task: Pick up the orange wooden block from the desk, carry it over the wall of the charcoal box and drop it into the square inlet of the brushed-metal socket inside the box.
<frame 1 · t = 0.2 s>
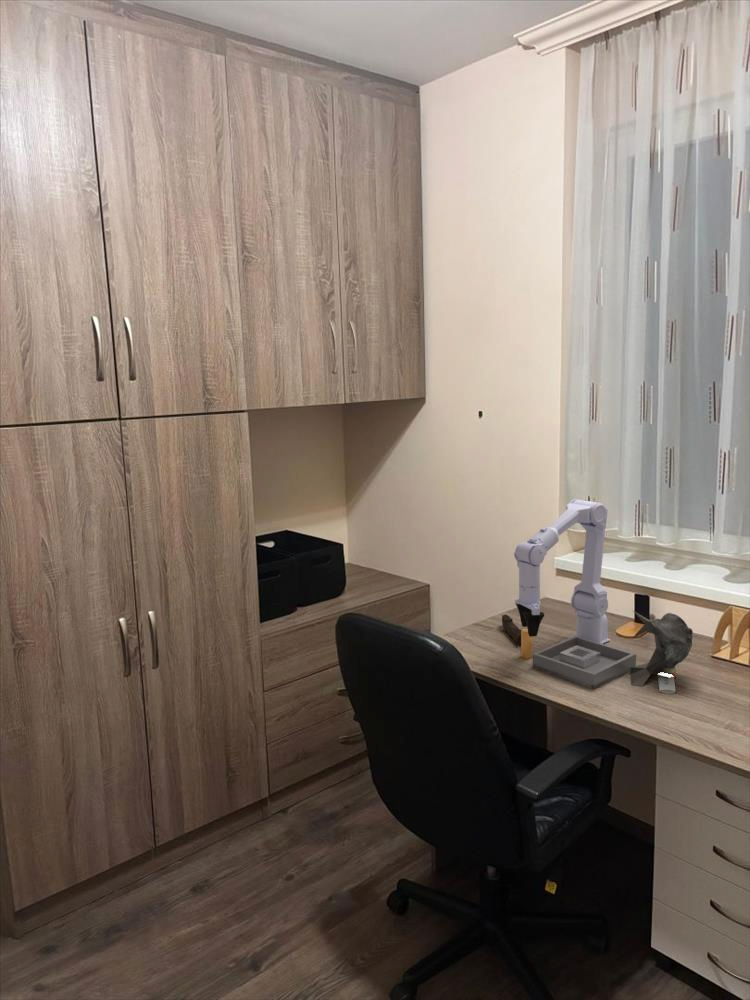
hand: (529, 631, 213), 10 cm above the table, tool pointing down, fingers open, 7 cm apart
orange wooden block: (526, 656, 219), on the table
inlet socket: (579, 664, 213), resting on walled box
walled box: (583, 667, 211), on the table
dark brown rod: (511, 637, 236), on the table
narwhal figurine: (660, 677, 203), on the table
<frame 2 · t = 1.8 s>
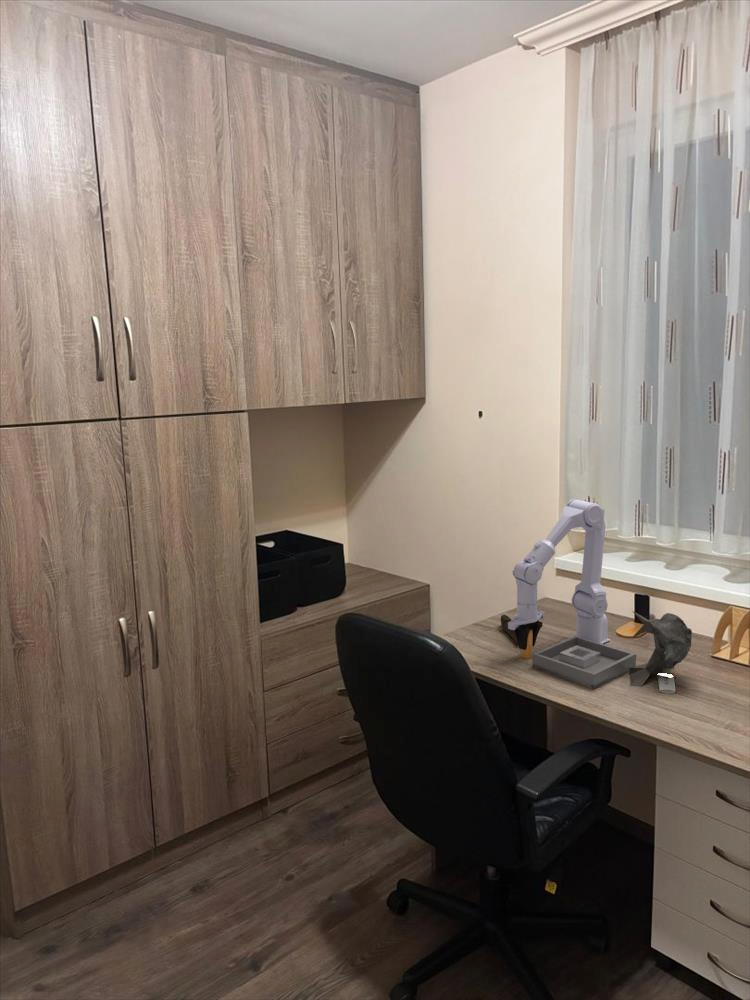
hand: (526, 647, 219), 3 cm above the table, tool pointing down, fingers closed on orange wooden block, 3 cm apart
orange wooden block: (526, 656, 219), on the table, touching gripper
everything else where it was.
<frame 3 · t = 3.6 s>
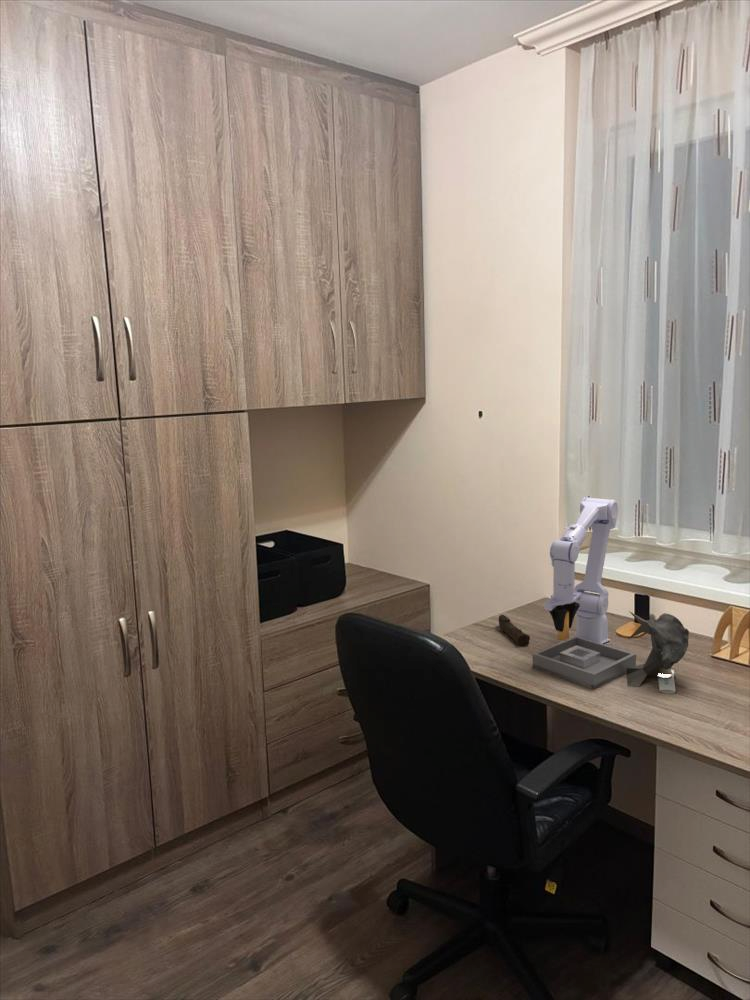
hand: (563, 628, 213), 10 cm above the table, tool pointing down, fingers closed on orange wooden block, 3 cm apart
orange wooden block: (562, 638, 214), point 7 cm above the table, touching gripper
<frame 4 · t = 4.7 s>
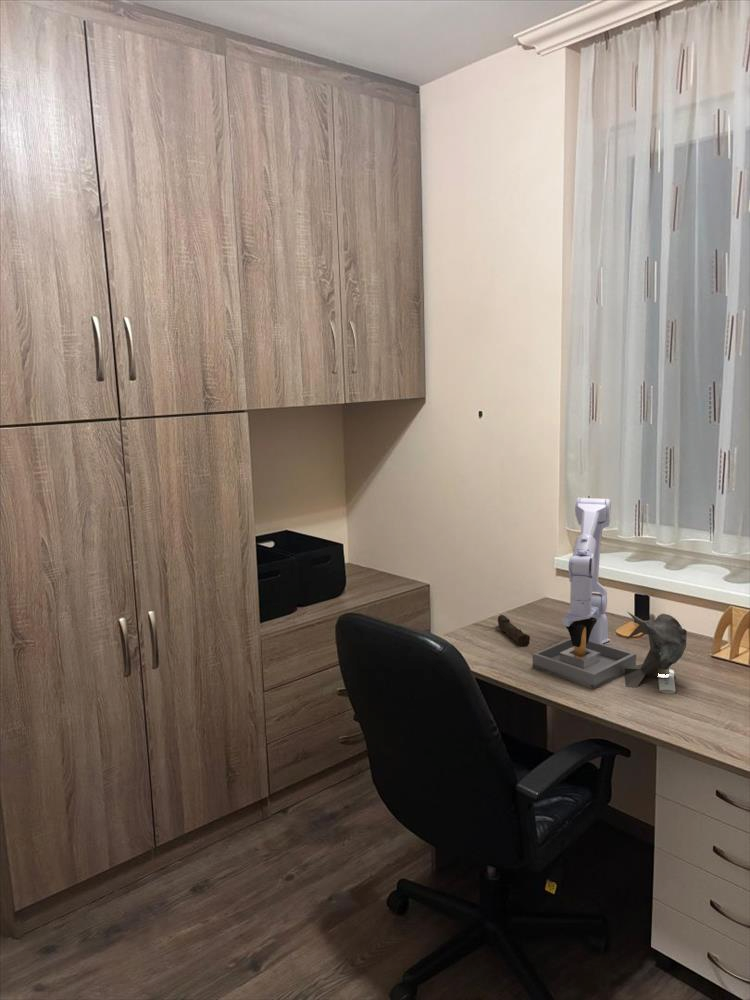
hand: (580, 644, 212), 6 cm above the table, tool pointing down, fingers closed on orange wooden block, 3 cm apart
orange wooden block: (579, 654, 212), point 3 cm above the table, touching gripper
when the fingers open (4 cm above the table, at t = 5.4 s): orange wooden block stays where it is, resting on walled box.
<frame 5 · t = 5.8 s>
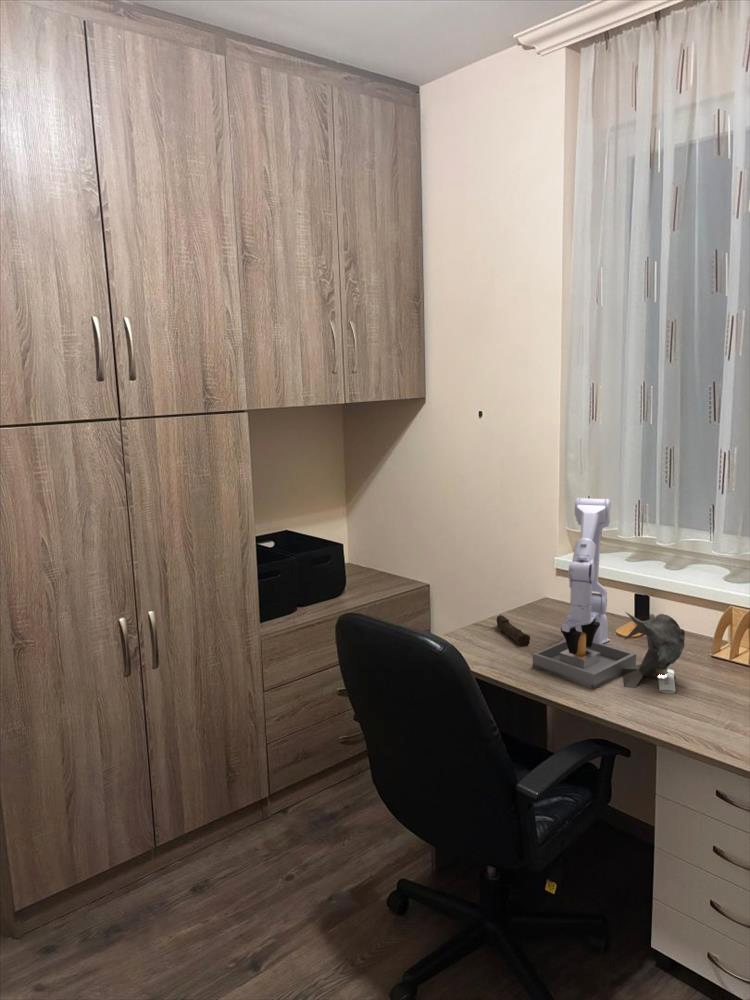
hand: (580, 649, 212), 4 cm above the table, tool pointing down, fingers open, 6 cm apart
orange wooden block: (579, 660, 213), point 1 cm above the table, touching walled box
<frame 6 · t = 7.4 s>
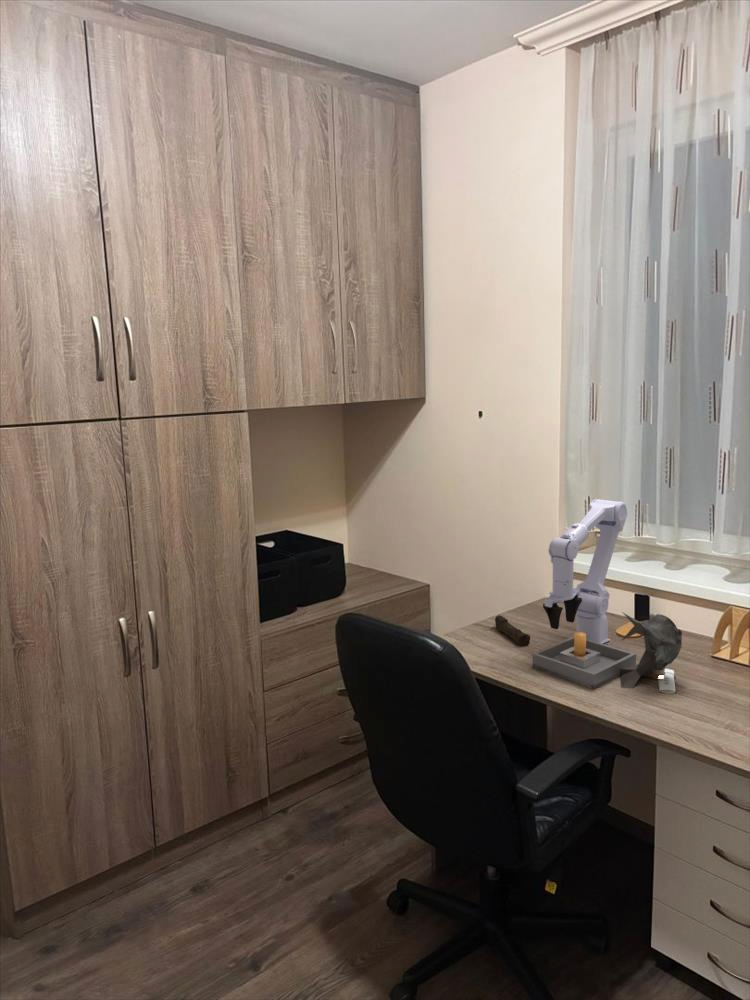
hand: (562, 624, 217), 10 cm above the table, tool pointing down, fingers open, 7 cm apart
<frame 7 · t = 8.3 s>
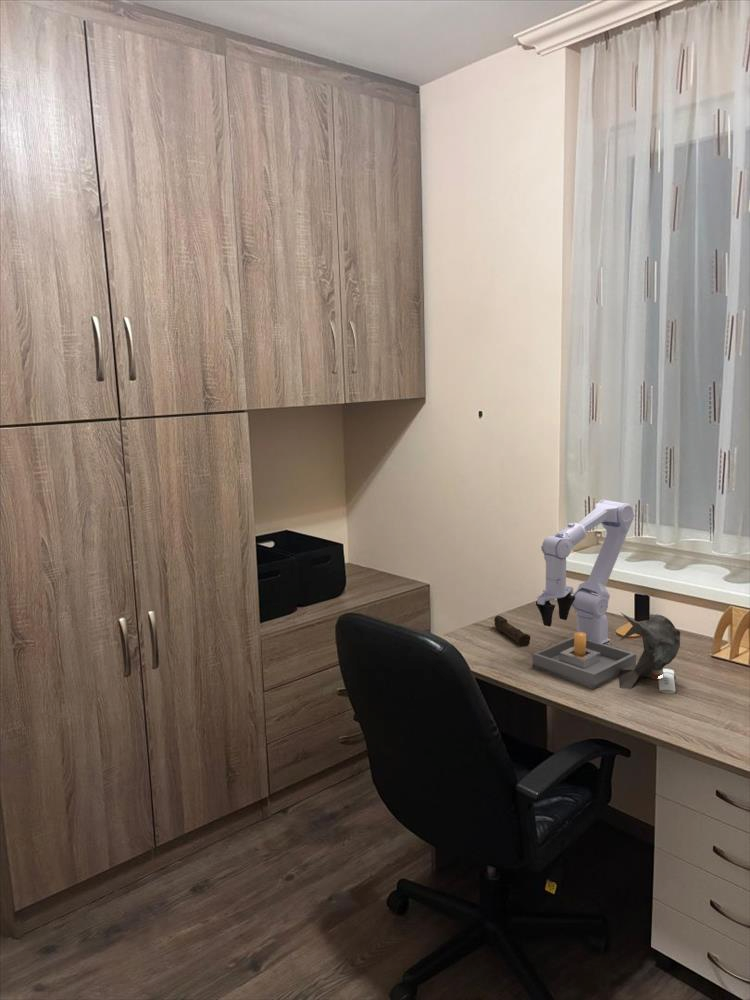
hand: (555, 622, 220), 9 cm above the table, tool pointing down, fingers open, 7 cm apart
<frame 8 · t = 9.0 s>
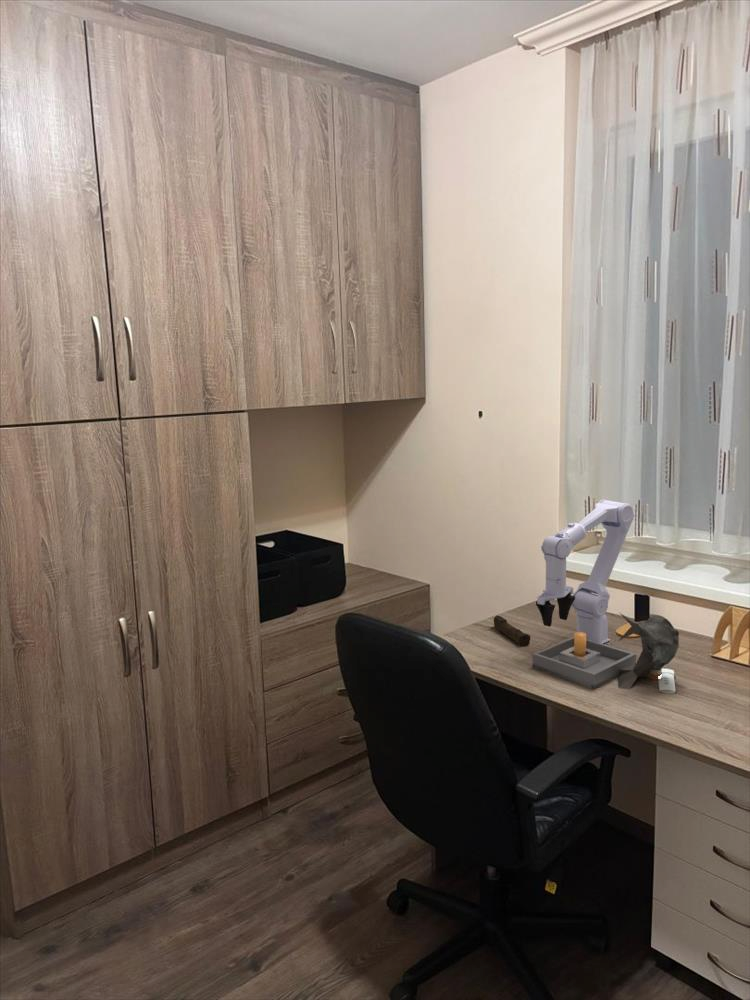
hand: (555, 622, 220), 9 cm above the table, tool pointing down, fingers open, 7 cm apart
at the end: orange wooden block 0.1 cm off-centre on the inlet socket, point 1.0 cm above the inlet socket's base; orange wooden block tilted 0°; the gripper is holding nothing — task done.
